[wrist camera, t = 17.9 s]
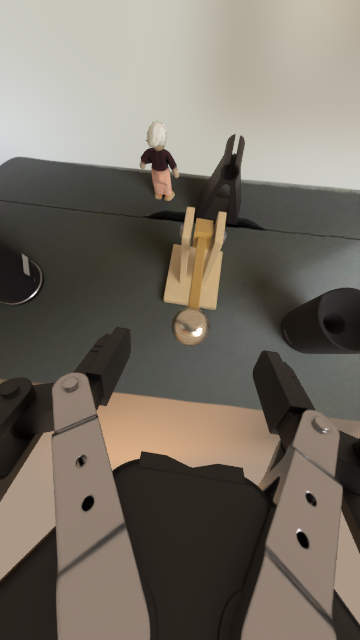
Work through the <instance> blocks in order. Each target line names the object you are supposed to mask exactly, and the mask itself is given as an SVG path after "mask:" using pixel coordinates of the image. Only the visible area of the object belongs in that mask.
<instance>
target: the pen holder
mask: <svg viewBox="0 0 360 640" xmlns="http://www.w3.org/2000/svg"><path fill="white" fill-rule="evenodd" d="M282 332H283V336H284V338H285V340H286V342H287V343H288V344H289V345H290V346H291V347H292V348H293V349H295V350H297V351H299V352H302V353H308V354H359V353H360V290H358V289H354V288H339V289H334V290H331V291H328V292H326V293H324V294H322V295H320V296H318V297H316V298H314V299H313V300H311V301H309V302H307V303H305V304H303V305H301V306H299V307H297V308H295V309H294V310H292V311H290V312H289V313H288V314H287V315H286V316H285V318H284V320H283V323H282Z"/></svg>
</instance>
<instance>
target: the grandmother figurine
mask: <svg viewBox="0 0 360 640" xmlns="http://www.w3.org/2000/svg"><path fill="white" fill-rule="evenodd" d="M146 141H147V142H148V145H149V146H150V147H153V148H150V149H147V150H146V151H145V152H144V154H143V155H142V156H141V163H140V168H141V169H144V168H145V165H146V164H148V163H152V180H153V185H154V190H155V198H156V199H161V198H162V196H163V195H165V197H164V199H165V200H166V201H170V200H171V199H172V198H173V197H174V196H175V194H174V192H173V191H172V190H171V179H170V171H169V167H168V164H169V166H170V168H171V169H172V172H173V173H174V177H175V178H178V177H179V172H178V169H177V165H176V163H175V161H174V159H173V157H172V156H171V154H170V153H169V152H168V151H167V150H165V149H163V148H164V146H165V143H166V128H165V126H164V125H163V123H161V122H159V121H156V122H153V123H152V124H151V125H150V127H149V130H148V132H147V140H146Z"/></svg>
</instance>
